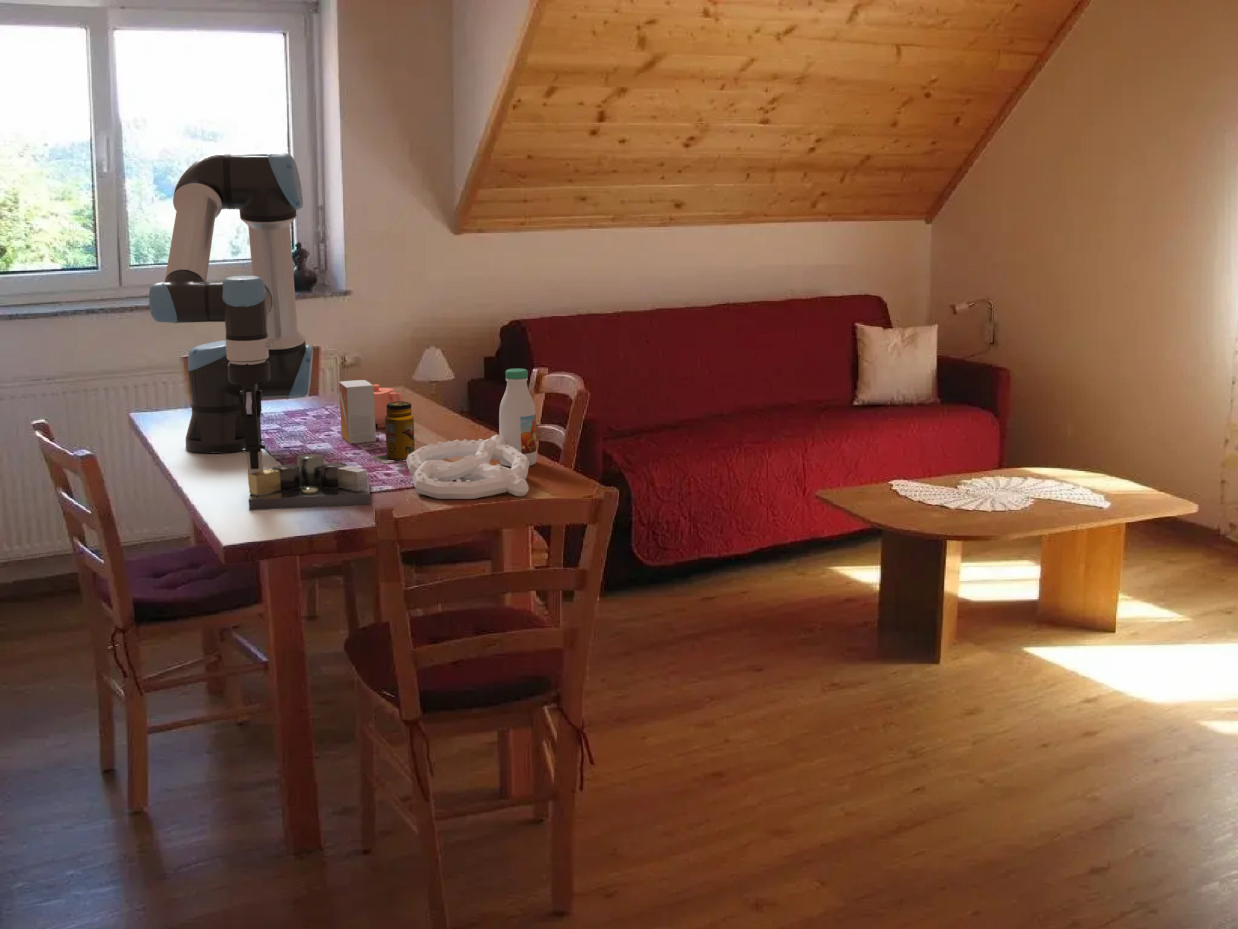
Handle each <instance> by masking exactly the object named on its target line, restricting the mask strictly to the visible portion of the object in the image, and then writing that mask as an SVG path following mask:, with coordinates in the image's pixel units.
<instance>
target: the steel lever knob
mask: <svg viewBox="0 0 1238 929" xmlns="http://www.w3.org/2000/svg"><path fill="white" fill-rule="evenodd" d="M320 467H321V485H322V486H323V487H328V488H336V487H339V488H344V489H349V490H354V491H361V490H364V489H367V475H368V474H367V469H364V468H360V467H353V466H349V465H348V464H347V463H345V462H328V463H327V462H326V463H324V464H323V465H321V466H320Z"/></svg>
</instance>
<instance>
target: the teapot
mask: <svg viewBox="0 0 1238 929" xmlns="http://www.w3.org/2000/svg"><path fill="white" fill-rule="evenodd" d="M372 385H373V390H374V410H375V425H377V428H378V429H385V417H386V415H387V413H386V411H387V407H386V406H387V404H388V403H390V402H397V401H403V402H404V400H403V394H402V392H396V391H395V389H394V388H392V387H381V385H380V384H377V383H376V384H372Z"/></svg>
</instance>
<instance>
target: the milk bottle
mask: <svg viewBox="0 0 1238 929" xmlns="http://www.w3.org/2000/svg"><path fill="white" fill-rule="evenodd" d="M528 377H529V372H528V370H527V369H526V368H508V369H506V370H505V381H506V388H505V391H504V394H503V396H502V399H501V401H500V404H499V412H498V413H499V415H498V424H499V426H498V430H499V431H498V433H499V434H498V435H500V436H502V437H503V438H504V440H505V442H506V444H505V445H509V446H511V447H513V448H515V449H516V450H518V451H519V452H521V453H522V454H523V455H525V456H526V457H527V458H528V460H529V467H530V466H533V465H535V464H536V463H537V460H538V458H537V455H538V454H537V450H538V449H537V415H536V414H537V413H536V406H535V402H534V400H533V397H532V395H531V393H530V390H529V387H528V382H527V381H529V379H528ZM499 462H500V464H501V466H503V467H510V468H511V466H509V465H508V464H507V463H505V462H504V461H500V460H499Z"/></svg>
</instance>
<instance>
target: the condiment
mask: <svg viewBox="0 0 1238 929" xmlns="http://www.w3.org/2000/svg"><path fill="white" fill-rule="evenodd" d="M386 407H387V411H386V413H387V415H386V417H385V428H384V429H385V430H384V431H385V450H386V452H385V454H381V455H372V456H371V457H372V458H373V459H375V460H376V461H379V462H381V463H383V464H385V465H386V464H392V463H399V462H404V461H403V460H407V457H408V455H409V454H411V453H412V452H414V451H416V450H415V447H416V446H415V445H416V444H415V424H414V423H415V422H414V420H415V419H414V415H413V414H412V412H413V410H412V403H411V402H408V401H404V400H403V401H397V402H390V403H388V404H387V406H386ZM387 460H394V461H393V462H392V461H387ZM397 461H398V462H397Z"/></svg>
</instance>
